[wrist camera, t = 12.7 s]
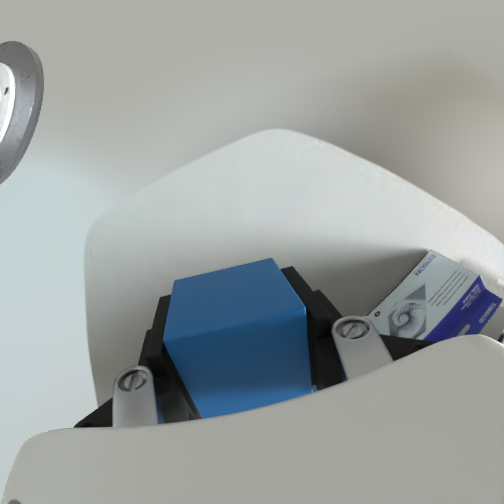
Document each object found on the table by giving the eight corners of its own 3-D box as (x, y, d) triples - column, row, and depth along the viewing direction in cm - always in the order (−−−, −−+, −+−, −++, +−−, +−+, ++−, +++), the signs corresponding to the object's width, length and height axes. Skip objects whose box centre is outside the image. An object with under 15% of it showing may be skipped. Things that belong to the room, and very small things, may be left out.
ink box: (429, 246, 27) (503, 284, 17) (436, 259, 28) (505, 299, 17) (362, 317, 29) (420, 382, 18) (371, 327, 29) (426, 390, 19)
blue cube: (200, 356, 12) (203, 423, 8) (174, 280, 11) (161, 340, 7) (285, 336, 12) (313, 397, 9) (272, 257, 11) (306, 306, 7)
